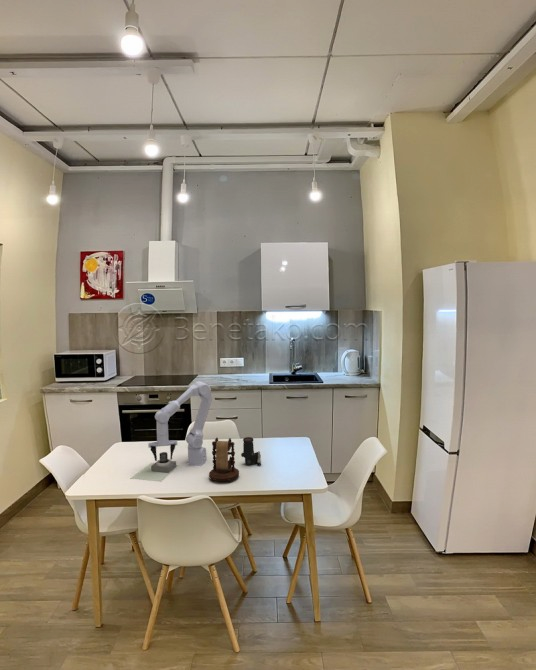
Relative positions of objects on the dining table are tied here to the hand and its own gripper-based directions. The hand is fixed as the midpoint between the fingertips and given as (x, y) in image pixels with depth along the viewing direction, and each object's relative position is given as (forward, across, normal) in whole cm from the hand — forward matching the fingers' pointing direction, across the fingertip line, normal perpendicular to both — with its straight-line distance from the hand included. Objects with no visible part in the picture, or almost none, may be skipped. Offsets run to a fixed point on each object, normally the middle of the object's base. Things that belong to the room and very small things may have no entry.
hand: (163, 459), depth 215 cm
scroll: (+6, -30, +16) cm, 35 cm away
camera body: (+5, 0, 0) cm, 5 cm away
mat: (+6, +4, +2) cm, 7 cm away
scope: (+6, -45, +3) cm, 46 cm away
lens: (+2, 0, 0) cm, 2 cm away
